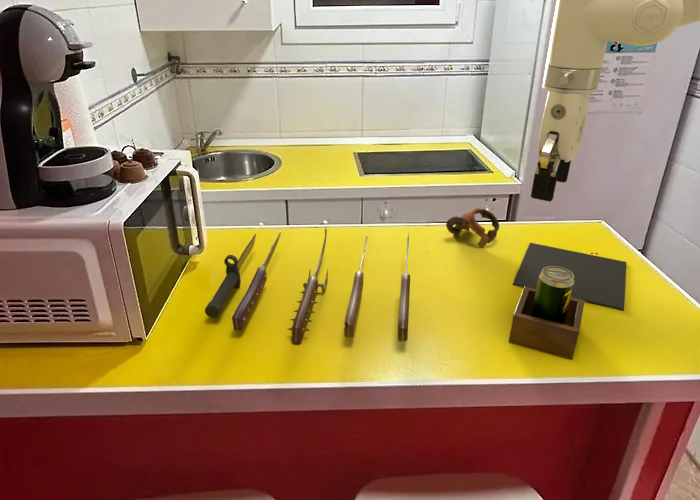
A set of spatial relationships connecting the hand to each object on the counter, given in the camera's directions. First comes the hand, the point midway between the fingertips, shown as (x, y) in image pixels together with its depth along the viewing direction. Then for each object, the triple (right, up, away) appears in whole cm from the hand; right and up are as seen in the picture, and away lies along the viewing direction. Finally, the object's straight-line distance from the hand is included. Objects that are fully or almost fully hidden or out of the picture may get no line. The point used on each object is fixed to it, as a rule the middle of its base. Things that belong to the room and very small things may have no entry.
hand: (549, 189), depth 83 cm
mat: (+14, -15, +24) cm, 31 cm away
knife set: (-38, -18, +17) cm, 45 cm away
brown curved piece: (-4, -7, +38) cm, 38 cm away
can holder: (+1, -24, +5) cm, 25 cm away
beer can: (+1, -24, +5) cm, 25 cm away
